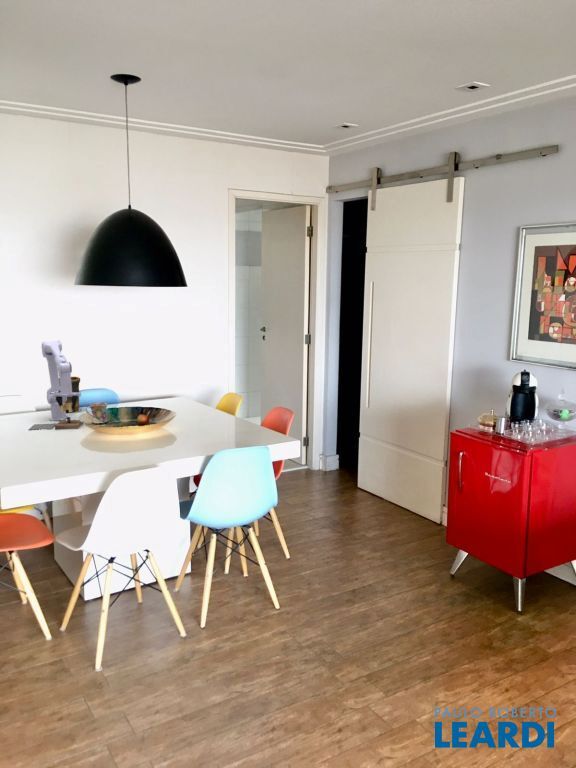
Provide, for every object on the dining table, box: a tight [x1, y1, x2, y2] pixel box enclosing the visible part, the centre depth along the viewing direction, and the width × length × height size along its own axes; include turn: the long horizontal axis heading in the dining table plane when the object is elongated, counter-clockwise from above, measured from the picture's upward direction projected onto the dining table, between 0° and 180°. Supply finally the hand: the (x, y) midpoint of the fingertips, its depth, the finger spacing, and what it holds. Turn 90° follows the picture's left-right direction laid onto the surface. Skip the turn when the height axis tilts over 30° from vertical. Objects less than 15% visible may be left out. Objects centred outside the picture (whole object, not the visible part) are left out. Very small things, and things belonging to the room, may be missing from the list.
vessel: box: [57, 376, 81, 415], centre depth 395 cm, size 14×14×20 cm
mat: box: [27, 422, 58, 431], centre depth 358 cm, size 12×12×1 cm
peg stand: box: [54, 416, 84, 431], centre depth 358 cm, size 12×12×5 cm
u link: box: [60, 403, 73, 412], centre depth 356 cm, size 8×6×4 cm
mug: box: [85, 401, 109, 423], centre depth 363 cm, size 12×9×11 cm
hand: (67, 410), depth 356 cm, fingers closed on u link, 6 cm apart
